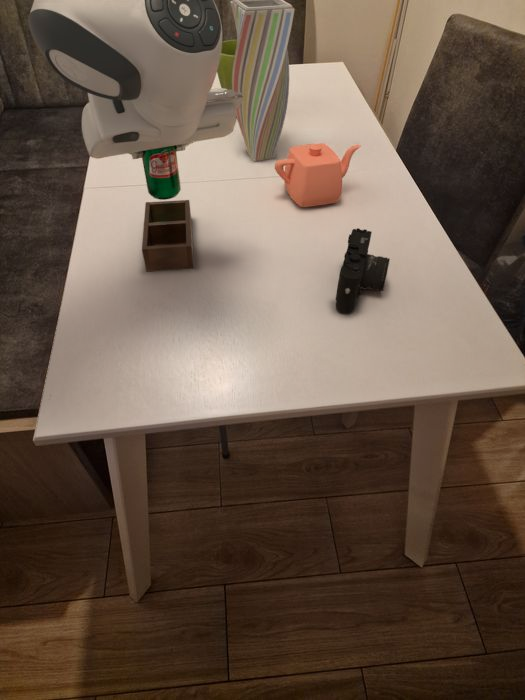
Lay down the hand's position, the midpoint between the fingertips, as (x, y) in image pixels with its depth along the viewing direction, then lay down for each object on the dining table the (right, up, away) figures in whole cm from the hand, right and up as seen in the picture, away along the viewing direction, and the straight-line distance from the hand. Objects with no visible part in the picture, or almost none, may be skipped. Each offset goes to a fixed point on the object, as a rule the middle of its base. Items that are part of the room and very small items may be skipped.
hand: (157, 149), depth 71 cm
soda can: (0, -5, +4) cm, 7 cm away
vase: (+15, +16, +43) cm, 49 cm away
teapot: (+27, +3, +30) cm, 40 cm away
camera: (+32, -20, +8) cm, 38 cm away
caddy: (-1, -10, +17) cm, 20 cm away
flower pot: (+10, +35, +61) cm, 71 cm away
